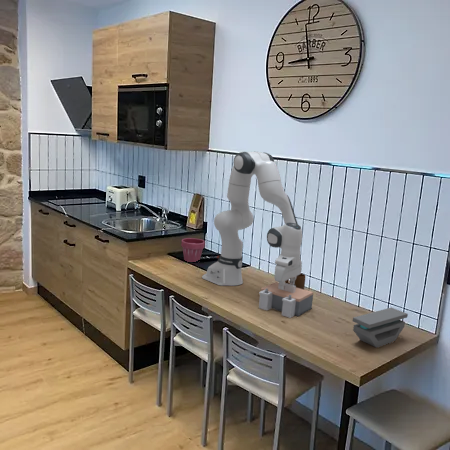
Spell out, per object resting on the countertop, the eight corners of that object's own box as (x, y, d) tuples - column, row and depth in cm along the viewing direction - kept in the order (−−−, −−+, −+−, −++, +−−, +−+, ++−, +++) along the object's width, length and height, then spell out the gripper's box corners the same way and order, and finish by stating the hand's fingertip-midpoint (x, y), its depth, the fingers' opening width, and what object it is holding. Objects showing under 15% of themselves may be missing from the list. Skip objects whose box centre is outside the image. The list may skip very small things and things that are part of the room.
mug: (289, 296, 239) (290, 278, 238) (279, 291, 246) (281, 274, 244) (306, 293, 246) (308, 276, 244) (297, 289, 252) (298, 271, 250)
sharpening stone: (365, 351, 183) (369, 324, 181) (349, 343, 189) (352, 317, 187) (404, 338, 198) (407, 313, 196) (387, 331, 204) (391, 307, 202)
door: (255, 292, 220) (256, 284, 219) (275, 284, 235) (276, 276, 234) (294, 304, 208) (295, 295, 208) (313, 294, 223) (314, 286, 222)
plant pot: (205, 264, 286) (207, 243, 284) (182, 264, 282) (184, 243, 280) (200, 257, 299) (201, 237, 297) (178, 257, 295) (179, 237, 293)
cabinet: (255, 307, 222) (257, 287, 220) (274, 297, 236) (276, 279, 234) (293, 319, 210) (296, 298, 209) (311, 308, 225) (313, 289, 223)
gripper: (294, 253, 230) (291, 280, 233) (273, 260, 214) (270, 290, 216) (306, 256, 227) (303, 283, 229) (285, 263, 210) (282, 293, 213)
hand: (287, 287), depth 223 cm, fingers open, 8 cm apart
